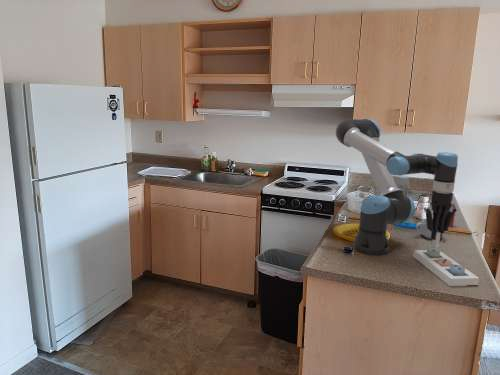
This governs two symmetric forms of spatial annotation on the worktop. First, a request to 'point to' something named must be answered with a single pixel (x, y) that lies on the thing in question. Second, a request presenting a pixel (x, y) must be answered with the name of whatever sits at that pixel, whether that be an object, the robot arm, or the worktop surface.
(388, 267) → the worktop surface
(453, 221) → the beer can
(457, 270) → the two pip button
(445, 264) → the three pip button
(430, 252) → the one pip button
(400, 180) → the water bottle
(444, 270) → the button panel
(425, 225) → the teacup
